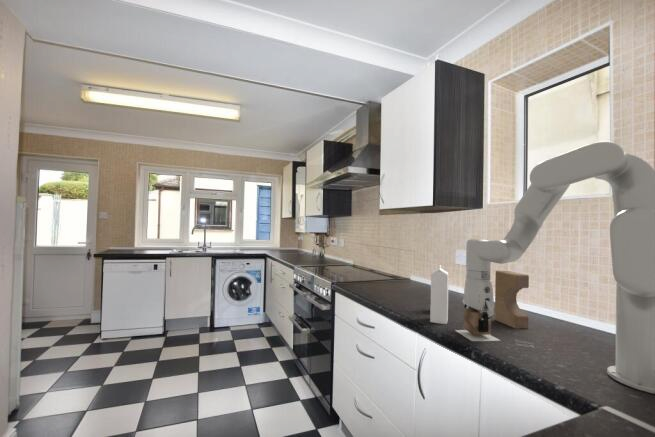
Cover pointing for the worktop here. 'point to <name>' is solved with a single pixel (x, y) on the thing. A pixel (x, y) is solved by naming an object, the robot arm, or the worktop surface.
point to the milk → (439, 296)
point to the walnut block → (474, 322)
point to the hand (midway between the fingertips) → (476, 327)
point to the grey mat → (477, 336)
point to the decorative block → (510, 298)
